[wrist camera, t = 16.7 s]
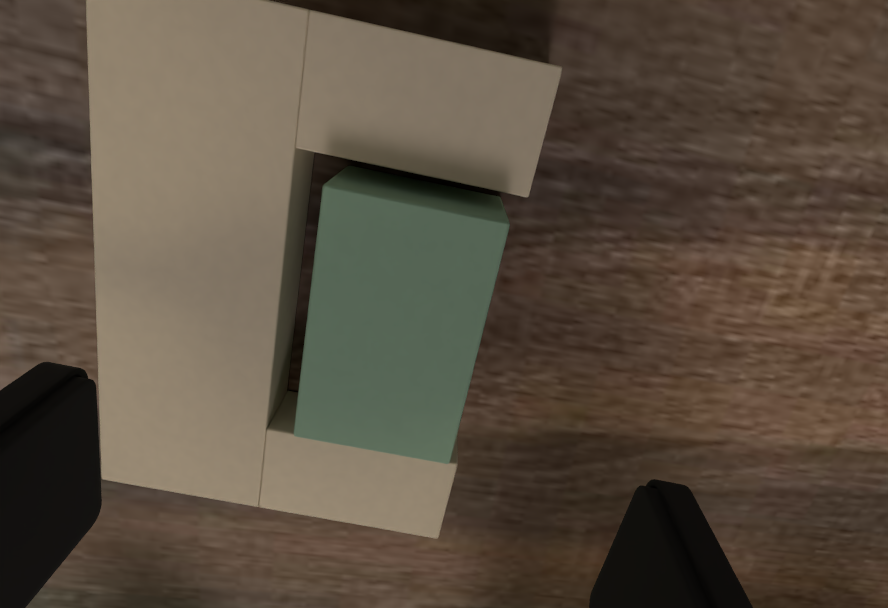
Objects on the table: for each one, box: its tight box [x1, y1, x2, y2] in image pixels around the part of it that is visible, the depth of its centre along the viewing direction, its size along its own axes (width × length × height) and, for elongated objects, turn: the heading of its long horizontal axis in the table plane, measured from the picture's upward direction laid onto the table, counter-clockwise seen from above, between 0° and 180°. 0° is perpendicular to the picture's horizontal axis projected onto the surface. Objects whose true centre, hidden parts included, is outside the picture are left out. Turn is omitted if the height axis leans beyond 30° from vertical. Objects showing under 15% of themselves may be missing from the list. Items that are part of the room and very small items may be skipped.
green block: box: [294, 166, 510, 464], centre depth 18 cm, size 8×5×4 cm, turn 169°
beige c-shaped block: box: [86, 0, 562, 538], centre depth 18 cm, size 16×12×2 cm
